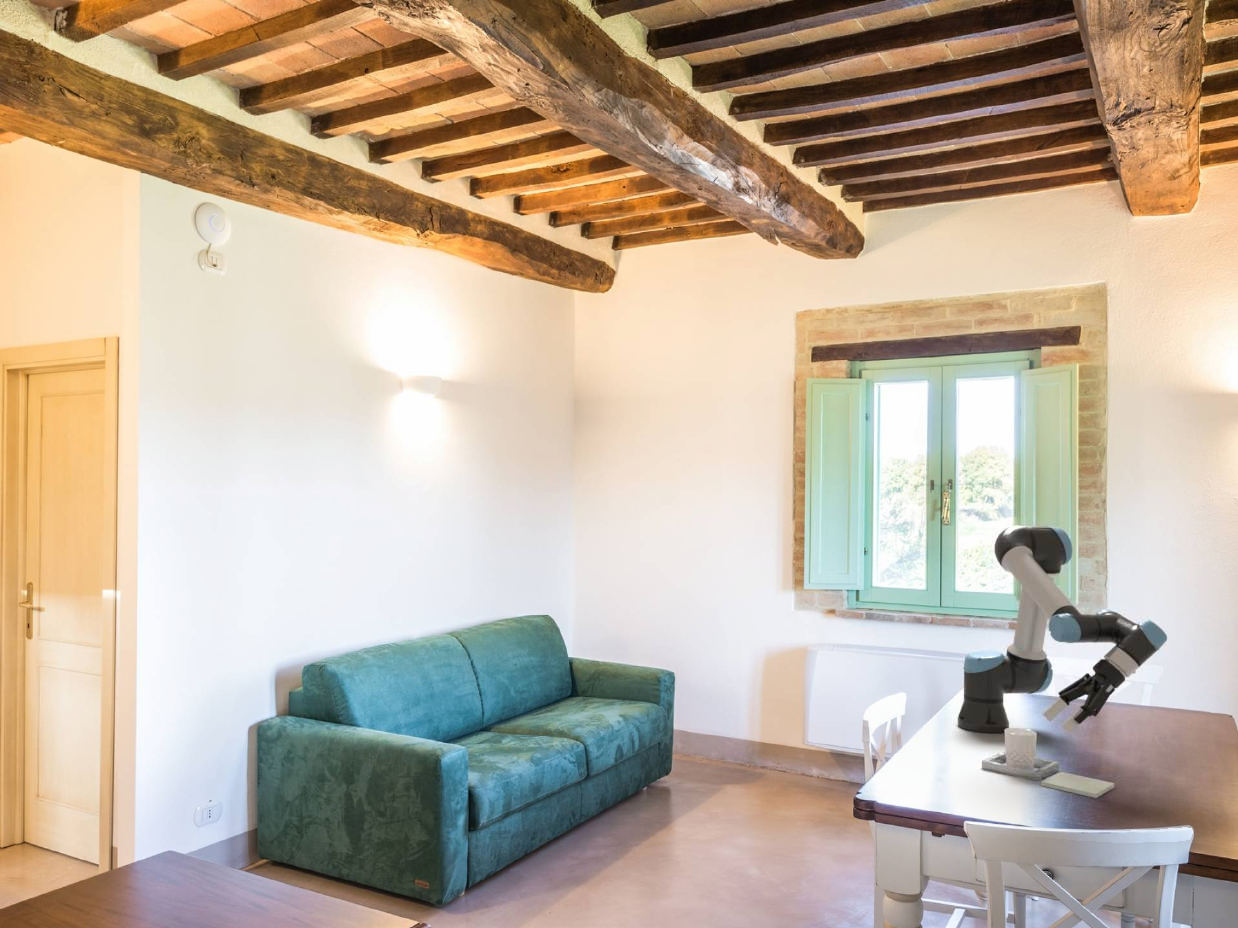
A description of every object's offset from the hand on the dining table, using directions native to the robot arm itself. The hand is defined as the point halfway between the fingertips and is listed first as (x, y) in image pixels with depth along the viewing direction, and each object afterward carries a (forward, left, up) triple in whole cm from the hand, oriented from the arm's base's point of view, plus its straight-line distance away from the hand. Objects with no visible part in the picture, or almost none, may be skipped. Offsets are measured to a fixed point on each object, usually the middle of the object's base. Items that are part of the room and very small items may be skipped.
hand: (1055, 723), depth 252 cm
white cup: (-7, -5, -13) cm, 16 cm away
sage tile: (+9, -9, -13) cm, 18 cm away
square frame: (-7, -5, -13) cm, 15 cm away
